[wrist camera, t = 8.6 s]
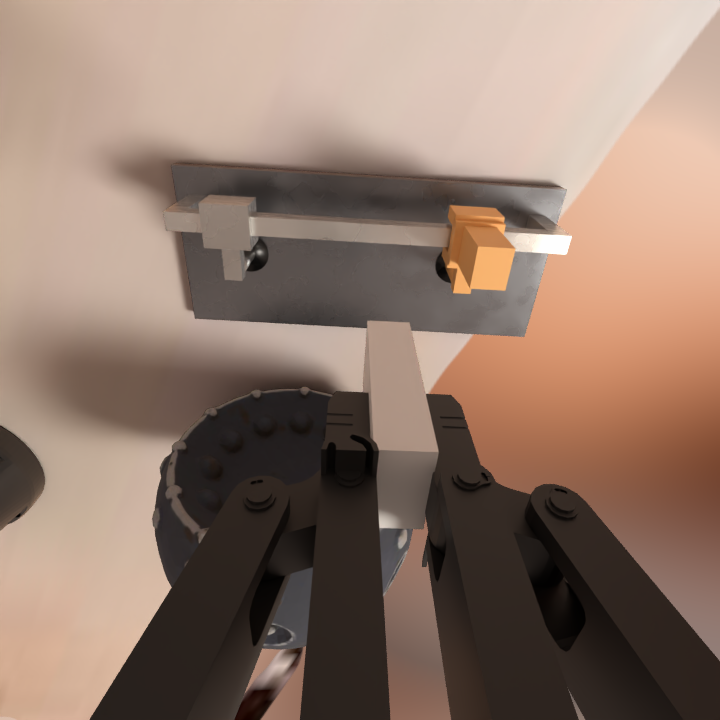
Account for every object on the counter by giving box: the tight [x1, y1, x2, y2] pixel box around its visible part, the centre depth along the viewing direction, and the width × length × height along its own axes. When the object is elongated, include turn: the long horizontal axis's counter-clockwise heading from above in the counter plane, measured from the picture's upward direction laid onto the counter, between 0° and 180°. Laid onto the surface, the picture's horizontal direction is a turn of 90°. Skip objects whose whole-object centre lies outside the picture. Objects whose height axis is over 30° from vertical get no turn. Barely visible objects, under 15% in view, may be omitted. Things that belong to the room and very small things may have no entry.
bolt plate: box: [171, 163, 566, 337], centre depth 35 cm, size 28×12×1 cm, turn 87°
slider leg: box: [442, 205, 516, 294], centre depth 29 cm, size 3×6×10 cm, turn 177°
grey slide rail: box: [163, 194, 572, 281], centre depth 32 cm, size 26×5×7 cm, turn 87°
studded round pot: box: [152, 387, 413, 649], centre depth 36 cm, size 11×20×20 cm, turn 84°
